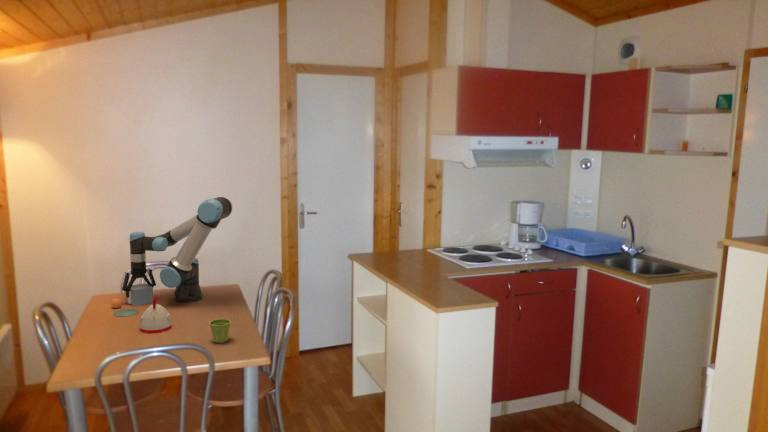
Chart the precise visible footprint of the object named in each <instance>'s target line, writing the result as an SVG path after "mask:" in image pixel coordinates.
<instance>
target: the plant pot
mask: <svg viewBox="0 0 768 432" xmlns="http://www.w3.org/2000/svg"><path fill="white" fill-rule="evenodd" d="M231 323H232V321H231V319H227V318H216V319H212V320H210V321H208V325H209V326H210V329H211V334H212V340H213V341H212V342H213V343H219V344H222V343H226V342H227V341H228V339H229V332H230V331H229V330H230V326H231Z"/></svg>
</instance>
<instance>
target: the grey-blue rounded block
mask: <svg viewBox="0 0 768 432" xmlns="http://www.w3.org/2000/svg"><path fill="white" fill-rule="evenodd" d="M130 291H131V304H130V303H128V298H127V297H126V296H125V298H126V303H127V304H129V305H131V306H133V307H138V306H143V305H147V304H153V300H154V287H152V286H150V285H148V284H147V283H146V282H144V283H140V284H139V283H138V284H133V285H132V287H131V289H130Z"/></svg>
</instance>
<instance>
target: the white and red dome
mask: <svg viewBox="0 0 768 432" xmlns="http://www.w3.org/2000/svg"><path fill="white" fill-rule="evenodd" d="M157 299H158V298H157V297H154V296H153V303H152V304H151V305H149V306H148V307H147V308H146V309H145V310H144V312H143V313H142V315H141V316H140V321H139V331H140V333H143V334H159V333H165V332H167V331H169V330H171V329H172V318H171V315H170V314H171V313H170V312H168V310H167V309H166V308H165V307H164V306H162V305H161V304H159V303H158V300H157Z"/></svg>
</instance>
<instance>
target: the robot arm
mask: <svg viewBox="0 0 768 432" xmlns="http://www.w3.org/2000/svg"><path fill="white" fill-rule="evenodd" d="M196 211H197V212H196V213H197V214H195V215H194V216H193V217H191V218H189V219H187V220H186V221H184V222H183V223H181V224H179V225H177V226H175V227H174V228H172V229H170V230H168V231H166V232H164V233H162V234H159V235H156V236H146V234H145V232H143V231H135V232H130V234H129V251H130V271H128V272H127V271H125V272H124V280H123V284H122V286H121V291H123V292H125V298H126V297H127V298H128V303H127V304H129V303H130V304H129V305H131V291H130V289H131V287H132V285H134V283H135V281H136V280H137V279H142V278H143V280H144V281H145V284H147V285H150V286H152V287H153V288H154V287H156V286H157V283H156V280H155V278H154V274H153V269H152V268H147V261H146V260H147V255H146V251H147V252H149V251H150V252H166V249H168V248H169V247H172V246H175V245H176V244H177V243H178V242H180V241H183V239H185V238H186V239H185V241H184V242H183V244H182V246H181V247H180V250H179V251H178V253H177V254H176V256H174V257H172V258H170V260H169V262H168V264H167V265H166V266H165V267H163V268H162V269H160V272H159V279H160V282H161V283H162V284H163V285H164V286H165V287H167V288H169V289H173V288H175V290H174V294H173V300H174V301H177V302H184V303H188V302H189V303H190V302H195V301H199V300H202V299H203V297H204V296H203V291H202V288H201V286H200V272H199V271H200V267H199V265H200V264H199V259H198V258H197V255H198V253H199V251H200V250H201V248H202V247H203V246H204V244H205V241H206V240H207V238H208V237H209V235H210V233H211V232H212V230H213V229H216V228H217V227H218V226H219V224H220V223H221V220H224V219H226V218H228V217H229V216H230V215H231V214H232V212H233V203H232V202H231V201H230V199H228V198H226V197H224V196H217V197H214V198H207V199H205V200H203V201H202V202H200V204H199V205H198V207H197V210H196ZM146 274H148V277H149V278H148V277H147V275H146ZM130 276H131V277H130ZM149 279H150V280H149Z"/></svg>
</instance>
